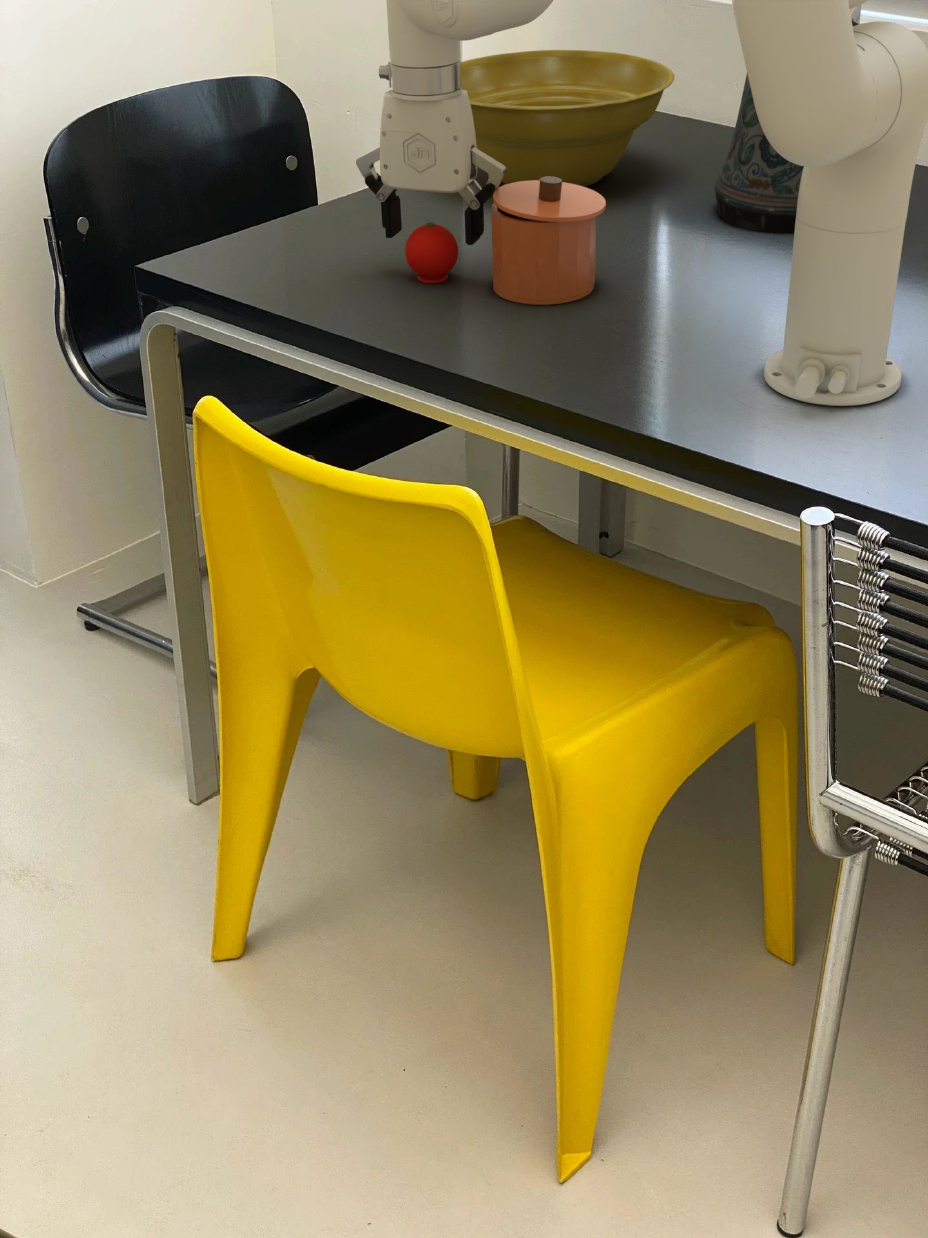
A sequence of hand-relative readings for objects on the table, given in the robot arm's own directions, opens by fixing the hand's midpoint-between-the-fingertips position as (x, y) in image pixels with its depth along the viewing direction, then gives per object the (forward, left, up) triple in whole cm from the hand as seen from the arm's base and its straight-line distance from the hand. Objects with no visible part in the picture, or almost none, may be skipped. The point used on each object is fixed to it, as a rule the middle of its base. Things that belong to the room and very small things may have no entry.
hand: (433, 237), depth 160 cm
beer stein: (+33, -35, -5) cm, 48 cm away
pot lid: (0, -14, +5) cm, 14 cm away
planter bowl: (+41, -1, -5) cm, 41 cm away
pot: (0, -13, -4) cm, 14 cm away
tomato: (-1, 0, -4) cm, 5 cm away
